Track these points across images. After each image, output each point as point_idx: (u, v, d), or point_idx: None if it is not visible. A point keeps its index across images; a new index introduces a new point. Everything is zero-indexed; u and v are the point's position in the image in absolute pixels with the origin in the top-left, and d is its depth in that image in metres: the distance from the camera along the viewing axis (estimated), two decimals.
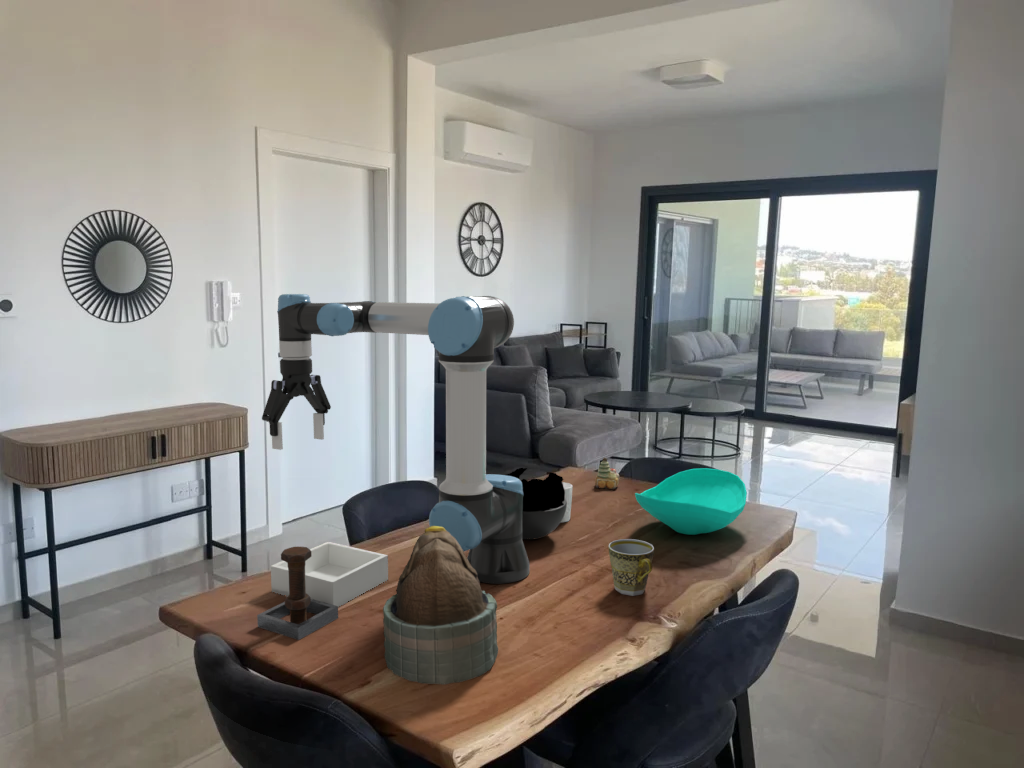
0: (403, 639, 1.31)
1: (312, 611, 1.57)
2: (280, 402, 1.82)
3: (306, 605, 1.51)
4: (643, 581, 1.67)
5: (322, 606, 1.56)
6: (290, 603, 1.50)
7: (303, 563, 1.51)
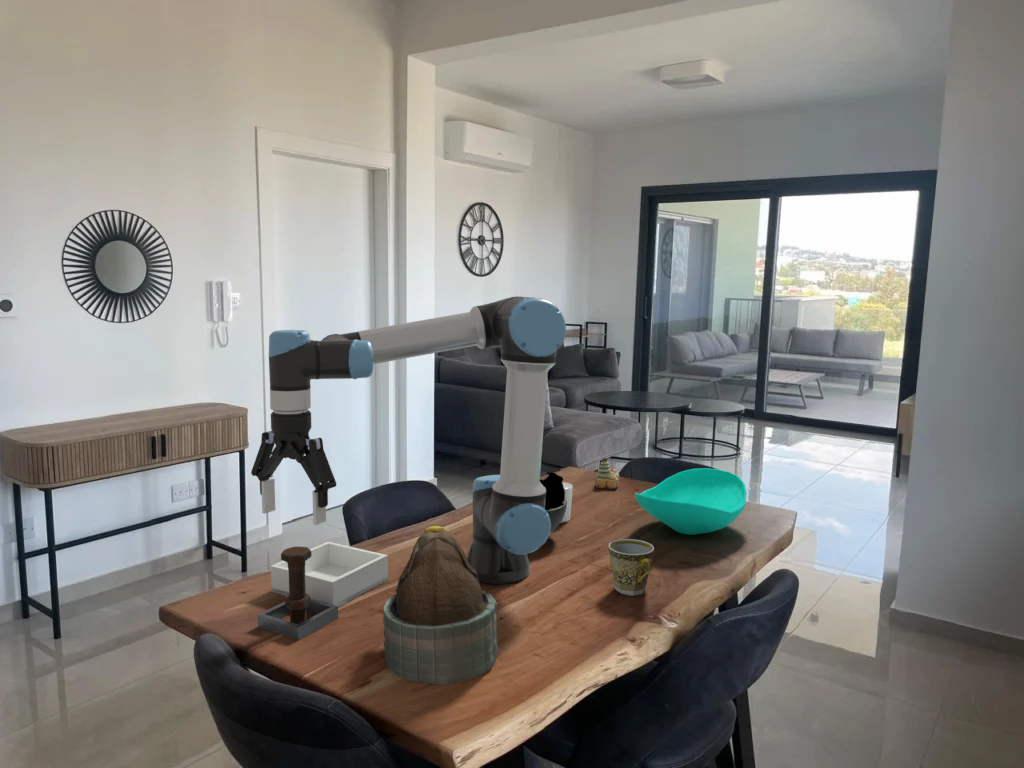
0: (403, 639, 1.31)
1: (312, 611, 1.57)
2: None
3: (306, 605, 1.51)
4: (643, 581, 1.67)
5: (322, 606, 1.56)
6: (290, 603, 1.50)
7: (303, 563, 1.51)
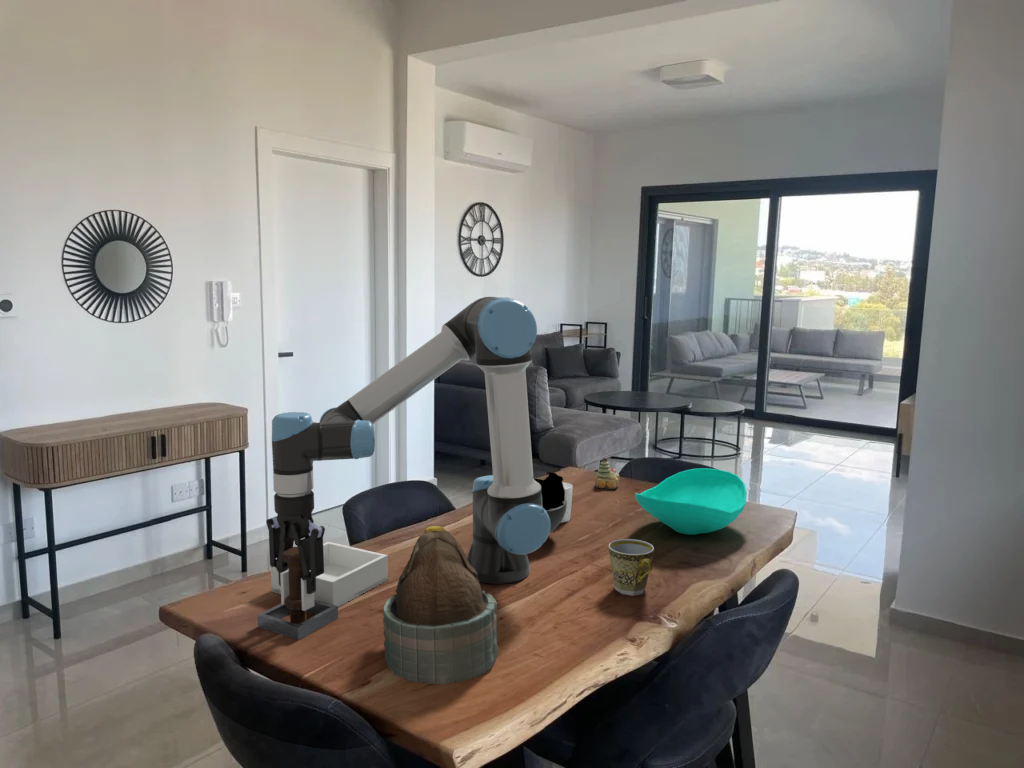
0: (403, 639, 1.31)
1: (312, 611, 1.57)
2: None
3: None
4: (643, 581, 1.67)
5: (322, 606, 1.56)
6: (290, 603, 1.50)
7: None
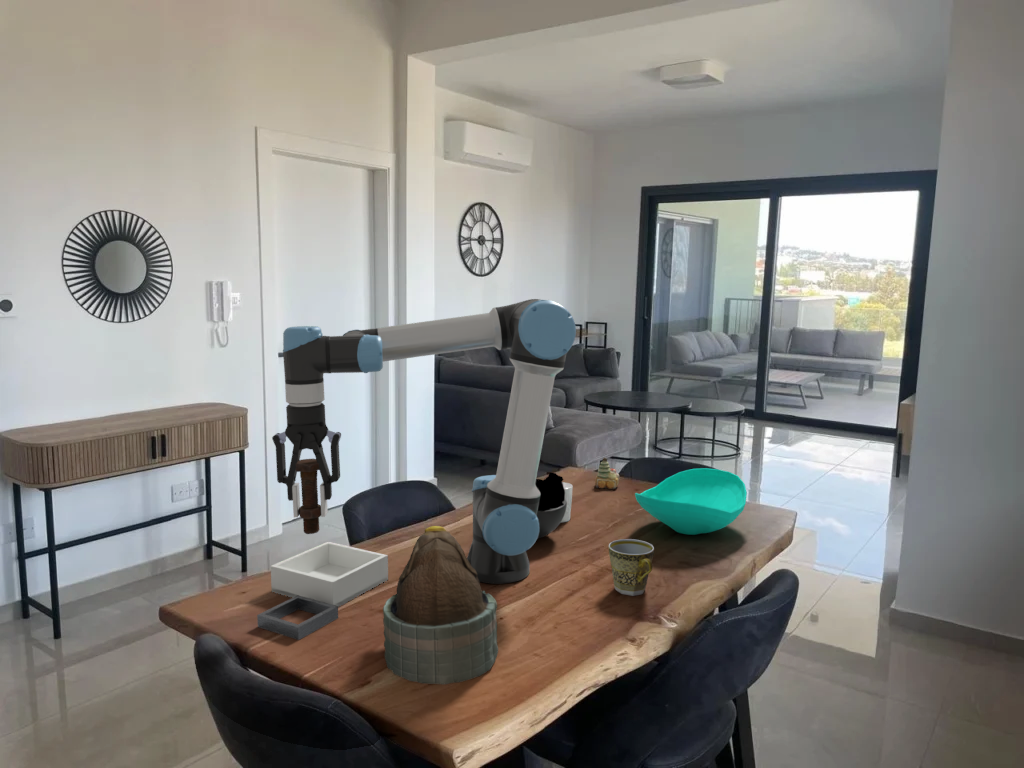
0: (403, 639, 1.31)
1: (312, 611, 1.57)
2: None
3: None
4: (643, 581, 1.67)
5: (322, 606, 1.56)
6: (309, 512, 1.55)
7: None
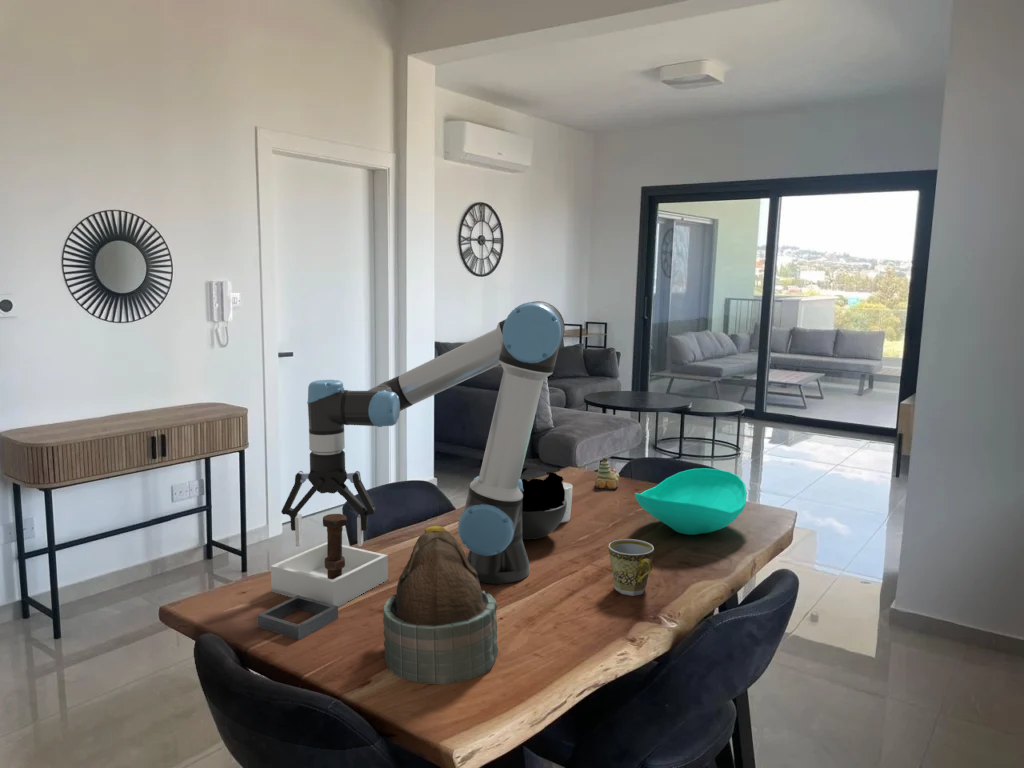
0: (403, 639, 1.31)
1: (312, 611, 1.57)
2: None
3: (344, 564, 1.70)
4: (643, 581, 1.67)
5: (322, 606, 1.56)
6: (333, 564, 1.68)
7: (342, 527, 1.69)
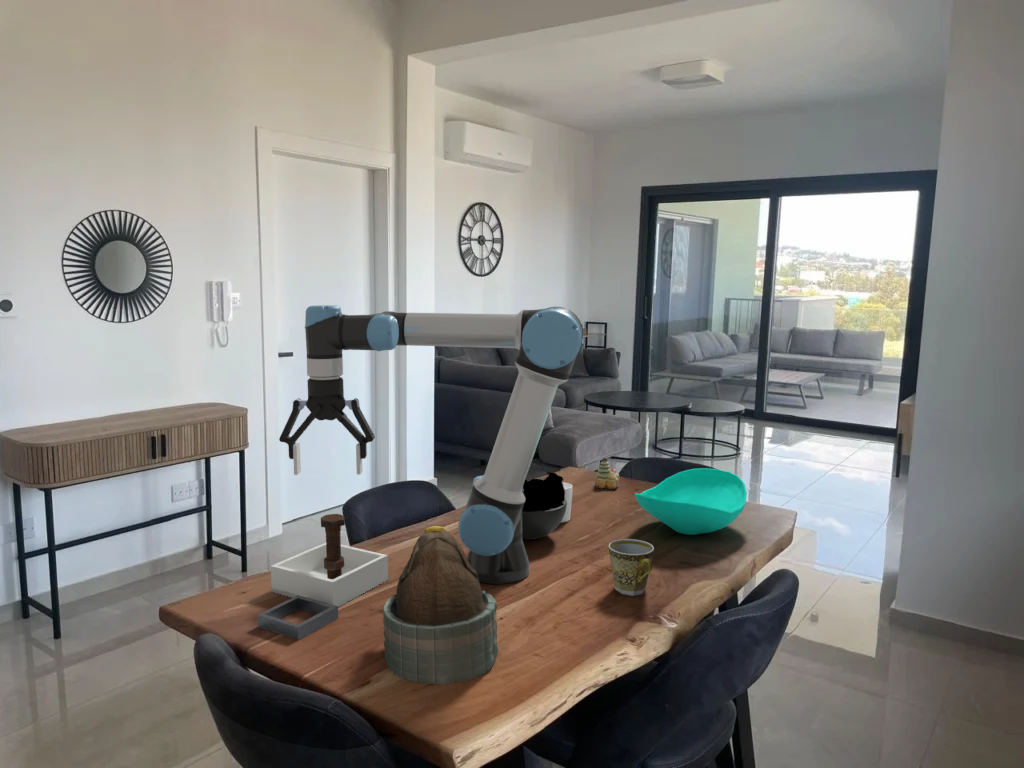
0: (403, 639, 1.31)
1: (312, 611, 1.57)
2: None
3: None
4: (643, 581, 1.67)
5: (322, 606, 1.56)
6: (332, 564, 1.68)
7: (340, 527, 1.69)
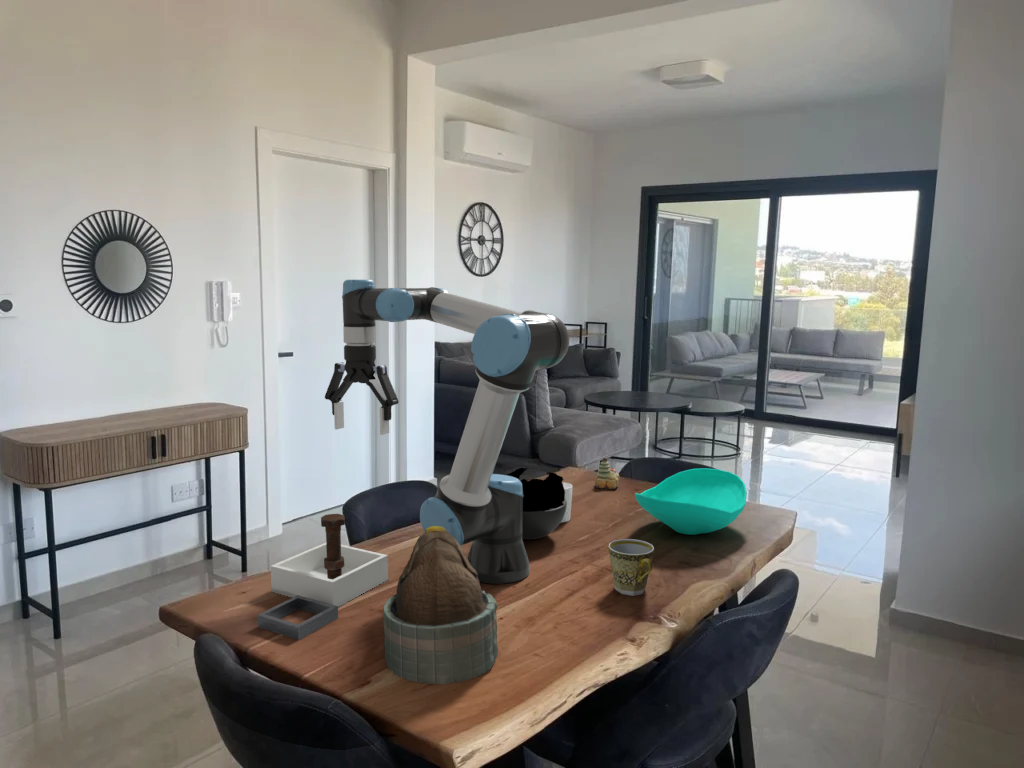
0: (403, 639, 1.31)
1: (312, 611, 1.57)
2: None
3: None
4: (643, 581, 1.67)
5: (322, 606, 1.56)
6: (332, 564, 1.68)
7: (340, 527, 1.69)
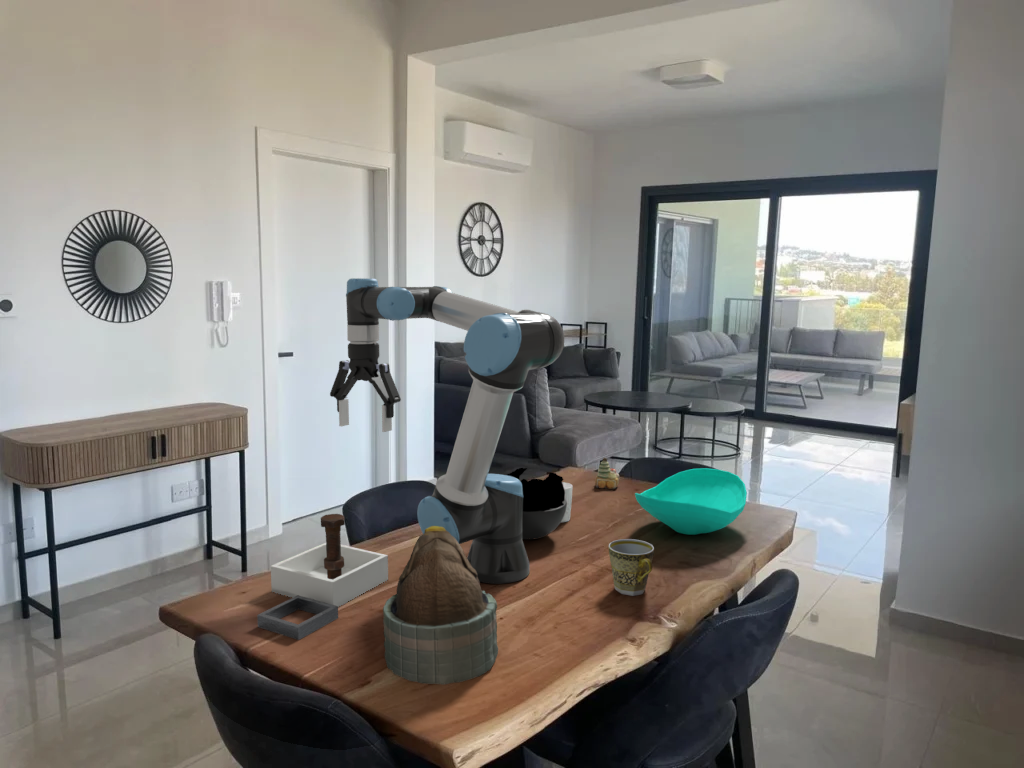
0: (403, 639, 1.31)
1: (312, 611, 1.57)
2: None
3: None
4: (643, 581, 1.67)
5: (322, 606, 1.56)
6: (332, 564, 1.68)
7: (340, 527, 1.69)
